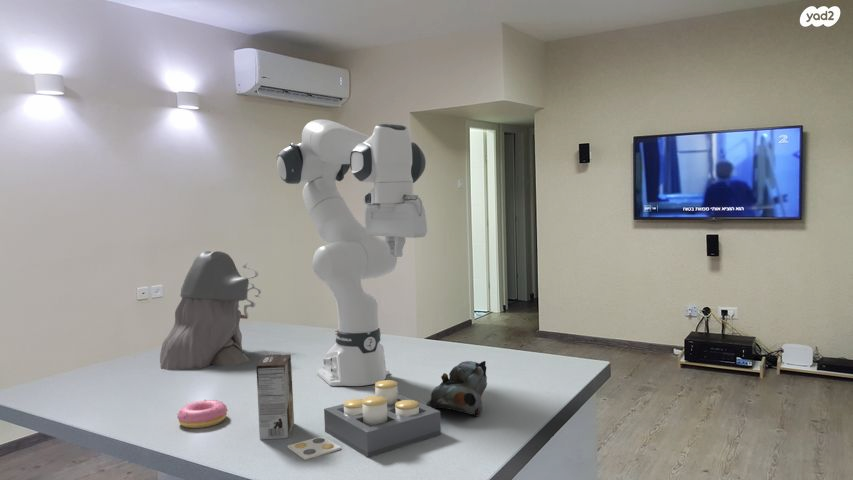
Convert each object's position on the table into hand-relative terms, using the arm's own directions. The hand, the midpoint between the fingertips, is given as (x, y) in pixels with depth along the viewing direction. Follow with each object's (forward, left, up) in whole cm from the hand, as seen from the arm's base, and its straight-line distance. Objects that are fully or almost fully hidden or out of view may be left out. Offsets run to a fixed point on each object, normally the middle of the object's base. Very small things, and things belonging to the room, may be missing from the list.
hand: (395, 256), depth 140 cm
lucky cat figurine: (+6, +12, -37) cm, 40 cm away
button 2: (+10, -13, -33) cm, 37 cm away
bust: (-89, -16, -37) cm, 98 cm away
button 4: (+10, -5, -36) cm, 37 cm away
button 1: (+2, -13, -36) cm, 38 cm away
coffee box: (-10, -26, -37) cm, 46 cm away
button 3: (+2, -5, -33) cm, 33 cm away
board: (+6, -9, -37) cm, 39 cm away
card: (+4, -24, -37) cm, 44 cm away
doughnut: (-28, -37, -38) cm, 59 cm away
